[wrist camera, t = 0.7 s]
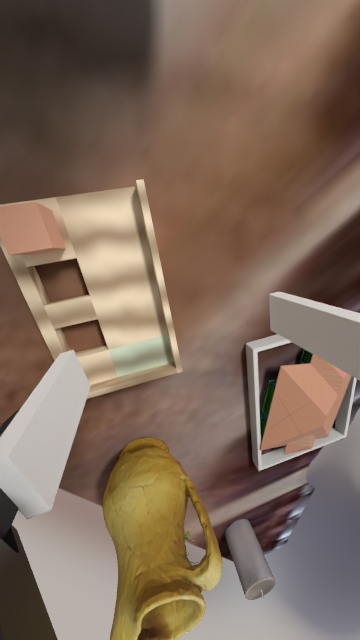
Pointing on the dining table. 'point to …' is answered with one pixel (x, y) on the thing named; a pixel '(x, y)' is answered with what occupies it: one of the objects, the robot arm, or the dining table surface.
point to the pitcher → (156, 545)
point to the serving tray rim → (253, 390)
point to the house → (303, 404)
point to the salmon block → (29, 229)
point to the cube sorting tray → (106, 288)
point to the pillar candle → (249, 560)
